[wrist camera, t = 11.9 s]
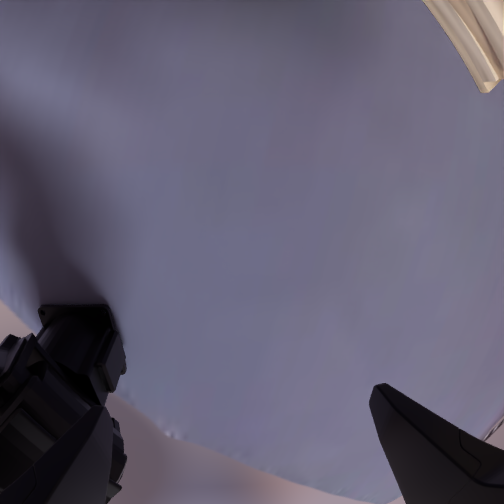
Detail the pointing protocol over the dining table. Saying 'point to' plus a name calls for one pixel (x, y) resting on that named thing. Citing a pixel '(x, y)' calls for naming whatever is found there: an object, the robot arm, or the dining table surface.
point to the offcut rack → (475, 36)
